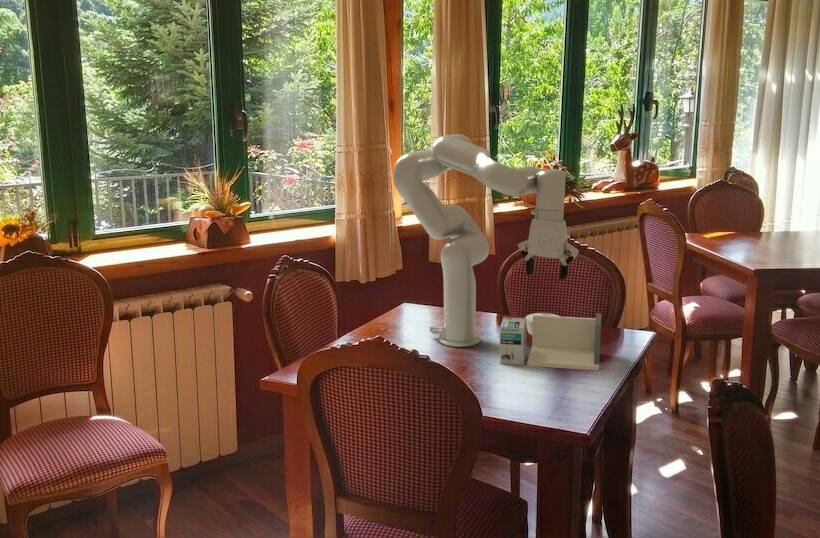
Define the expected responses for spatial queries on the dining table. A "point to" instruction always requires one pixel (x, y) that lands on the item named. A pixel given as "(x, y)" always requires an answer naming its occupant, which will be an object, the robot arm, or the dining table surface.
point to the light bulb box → (513, 341)
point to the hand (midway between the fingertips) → (546, 276)
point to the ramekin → (530, 320)
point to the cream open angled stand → (563, 342)
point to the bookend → (597, 338)
